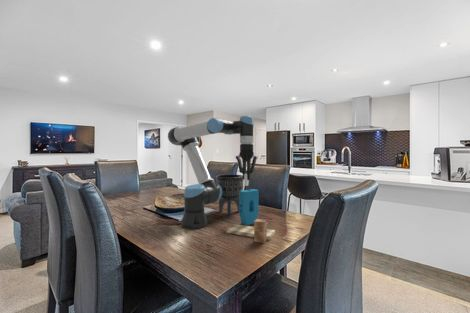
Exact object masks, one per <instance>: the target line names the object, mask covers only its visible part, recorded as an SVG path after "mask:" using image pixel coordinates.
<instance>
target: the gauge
mask: <svg viewBox="0 0 470 313" xmlns="http://www.w3.org/2000/svg"><path fill="white" fill-rule="evenodd" d="M268 226H269V222H268V220H267V219H260V218H257V219H256V220H255V221H254V224H253V227H254V237H253V238H254V240H253V243H254V242H255V243H260V244H265V243H266V242H267V241H268V240H267V229H268V228H267V227H268Z"/></svg>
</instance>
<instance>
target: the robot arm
mask: <svg viewBox="0 0 470 313" xmlns="http://www.w3.org/2000/svg"><path fill="white" fill-rule="evenodd" d="M214 134H224V135H238V134H239V154H238V155H236V156H235V159H236V160H237V166H238V170H239V173H240V174H241V175H243V180H244V181H243V187H244V186H245V187H247V186H249V184H250V181H249V180H251V174H253V173H254V171H255V166H256V163H257V160H258V158H259V156H257V155H255V153H254V117H253V116H250V115H242V116H240V117H239V120H229V119H228V120H227V119H224V118H223V119H221V118H218V117H211V118H210V119H209V120H208V121H203V122H200V123H195V124H192V125H188V126H183V127H181V126H176V127H173V128H171V129H170V130H169V131H168V133H167V140H168V141H169V143H171V145H172V144H173V145H175V146H180V147H182V150H183V151H184V152H186V154H187V157H188V159H189V162H190V165H191V167H192V169H193V172H194V175H195V177H196V180H197V182H198V183H196V184H190V185H188V186H186V187H184V194H183V197H184V199H183V200H184V201H183V202H184V211H183V216H182V220H181V222H180V223H181V224H180V225H181V227H182V228H184V229H188V230H196V229H202V228H205V227H206V226H208V219H207V215H206V213H205V206H206V205H211V204H212V203H216V202H219V200H220V198H221V196H222V188H221V186H220V185H218V184H216V181H215V179H214V178H212V177H211V174H210V172H209V170H208V168H207V164H206V162H205V160H204V158H203V155H202V153H201V150H200V148H199V146H200V142H201V137H205V136H209V135H214Z"/></svg>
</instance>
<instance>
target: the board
mask: <svg viewBox="0 0 470 313" xmlns="http://www.w3.org/2000/svg"><path fill="white" fill-rule="evenodd" d="M226 233H227V234H233V235H239V236H242V237H243V236H244V237H250V238H254V226H250V225H243V224H239V223H234V224H232V225H231V226H229V227H228V228H226ZM275 234H276V230H275V229H270V228H267V241H271V239H273V237H274V236H275Z"/></svg>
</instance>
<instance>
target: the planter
mask: <svg viewBox="0 0 470 313" xmlns="http://www.w3.org/2000/svg"><path fill="white" fill-rule="evenodd" d="M215 180H216V181H215V183H216V184H218V185H220V186H221V188H222V196H221V198H220V200H218V208H219V209H218V210H219V212H223V211H224V206H225V204H226V203H227V217H231V213H232V212H231V210H232V202H233V203H235V206H236V208H237V212H238V213H239V191H242V190H244V180H243V174H217V175H216V176H215Z"/></svg>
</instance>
